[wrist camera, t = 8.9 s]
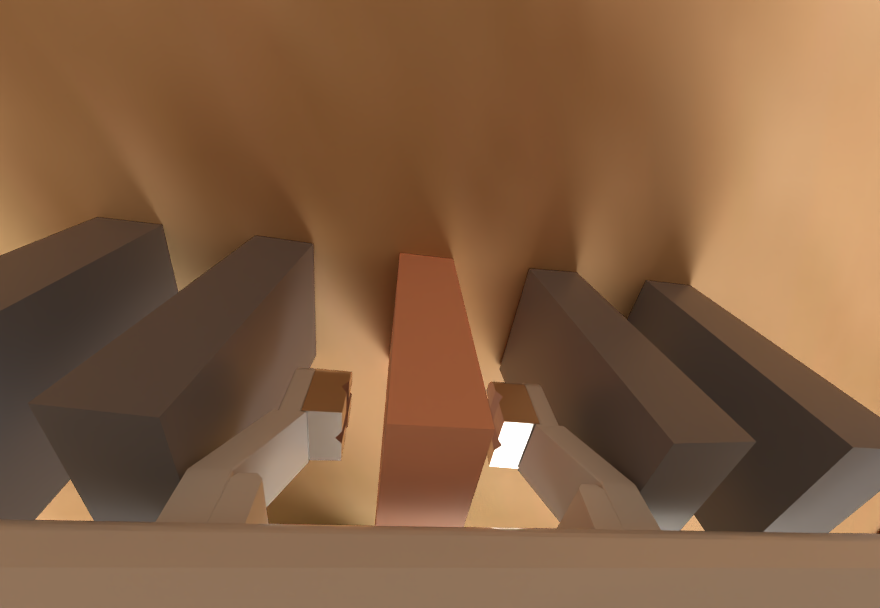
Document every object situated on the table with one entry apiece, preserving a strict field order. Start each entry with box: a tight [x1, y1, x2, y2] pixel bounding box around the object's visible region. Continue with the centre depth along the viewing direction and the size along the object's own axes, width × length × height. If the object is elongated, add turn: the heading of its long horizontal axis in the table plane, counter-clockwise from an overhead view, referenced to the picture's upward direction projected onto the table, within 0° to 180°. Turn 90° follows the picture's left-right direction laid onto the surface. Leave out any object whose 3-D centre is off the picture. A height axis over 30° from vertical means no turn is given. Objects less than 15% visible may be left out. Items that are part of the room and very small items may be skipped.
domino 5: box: [627, 280, 880, 533], centre depth 13 cm, size 2×5×8 cm, turn 171°
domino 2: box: [28, 236, 316, 522], centre depth 10 cm, size 2×5×8 cm, turn 171°
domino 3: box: [375, 253, 495, 527], centre depth 11 cm, size 2×5×8 cm, turn 171°
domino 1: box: [0, 217, 178, 520], centre depth 10 cm, size 2×5×8 cm, turn 171°
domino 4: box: [500, 269, 756, 531], centre depth 12 cm, size 2×5×8 cm, turn 171°
